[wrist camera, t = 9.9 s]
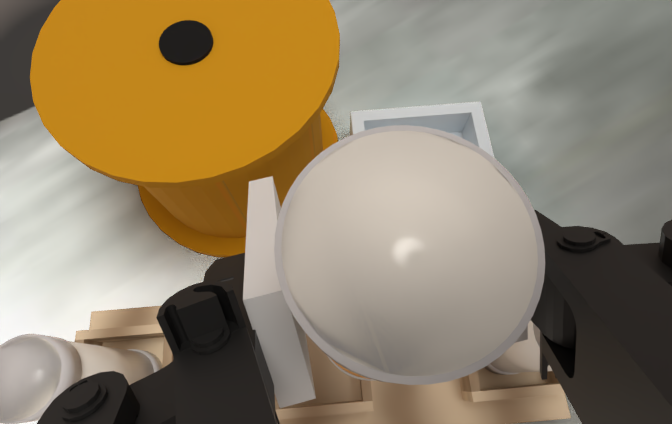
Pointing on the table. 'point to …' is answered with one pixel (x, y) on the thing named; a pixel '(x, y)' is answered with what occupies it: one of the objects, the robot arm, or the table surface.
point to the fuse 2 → (520, 355)
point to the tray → (430, 120)
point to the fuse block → (366, 385)
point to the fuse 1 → (58, 371)
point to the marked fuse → (409, 255)
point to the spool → (190, 101)
